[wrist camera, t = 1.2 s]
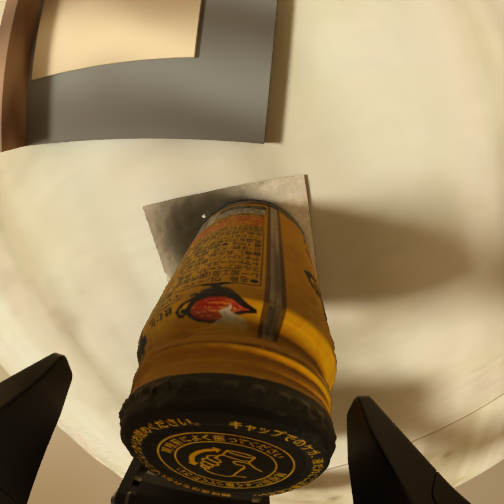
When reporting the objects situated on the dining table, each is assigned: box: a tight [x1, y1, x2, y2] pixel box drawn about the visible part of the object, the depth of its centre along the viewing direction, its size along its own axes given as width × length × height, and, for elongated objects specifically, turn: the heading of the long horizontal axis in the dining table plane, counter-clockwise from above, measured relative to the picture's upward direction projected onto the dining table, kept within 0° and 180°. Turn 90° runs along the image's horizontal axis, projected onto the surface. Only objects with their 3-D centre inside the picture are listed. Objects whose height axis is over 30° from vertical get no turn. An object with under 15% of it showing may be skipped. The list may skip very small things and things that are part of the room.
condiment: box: [119, 175, 337, 498], centre depth 11 cm, size 7×8×12 cm
